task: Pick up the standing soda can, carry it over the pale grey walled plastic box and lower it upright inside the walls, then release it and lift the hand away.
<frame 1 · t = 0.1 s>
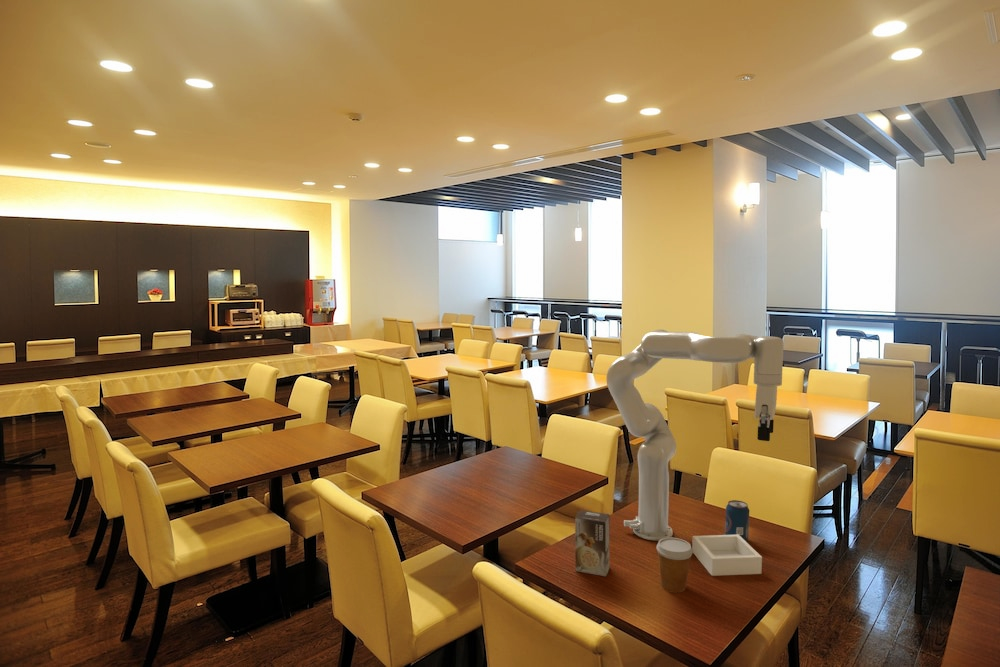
hand: (765, 436, 173), 37 cm above the table, tool pointing down, fingers open, 9 cm apart
coffee box: (592, 569, 170), on the table
disposable coffee cup: (673, 587, 160), on the table
walled box: (725, 562, 173), on the table
soda can: (736, 540, 188), on the table
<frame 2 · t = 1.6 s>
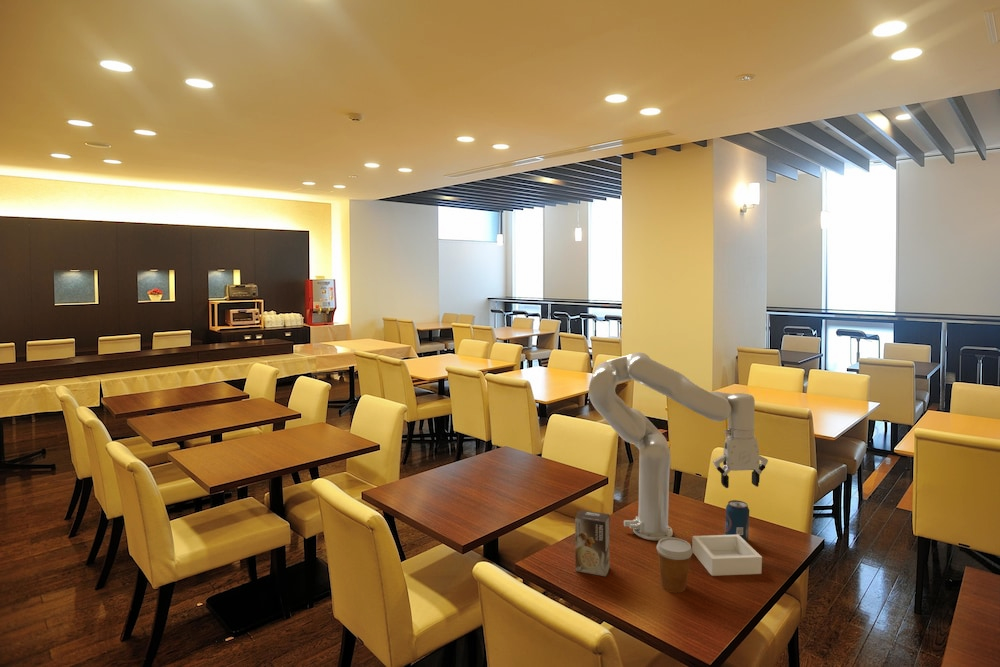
hand: (740, 485, 186), 18 cm above the table, tool pointing down, fingers open, 9 cm apart
nothing on the table moved.
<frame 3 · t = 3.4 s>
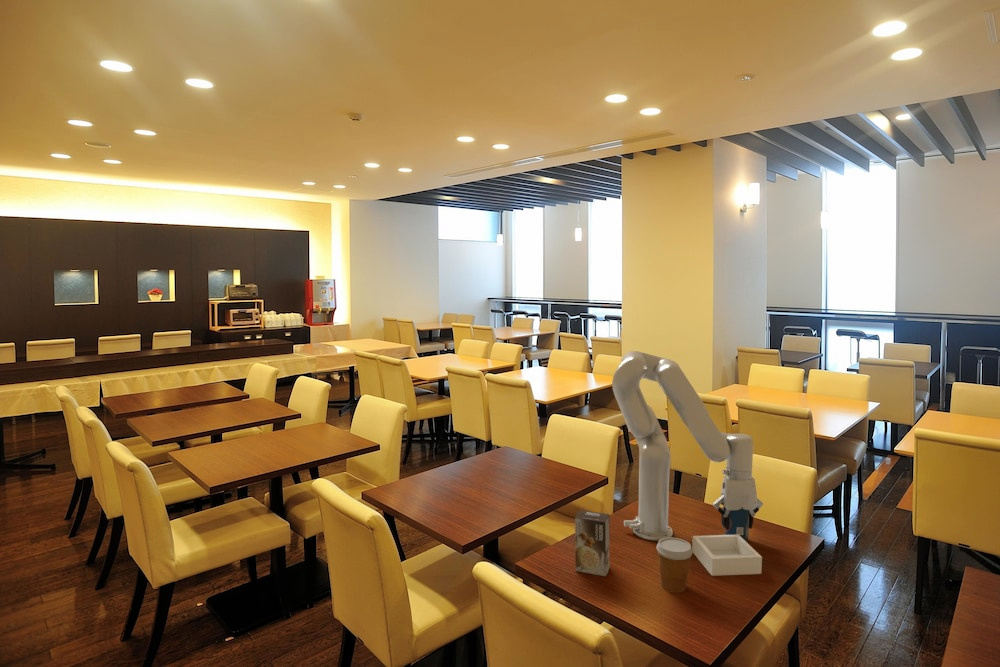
hand: (737, 526, 187), 4 cm above the table, tool pointing down, fingers closed on soda can, 6 cm apart
soda can: (736, 540, 188), on the table, touching gripper
everything else where it was.
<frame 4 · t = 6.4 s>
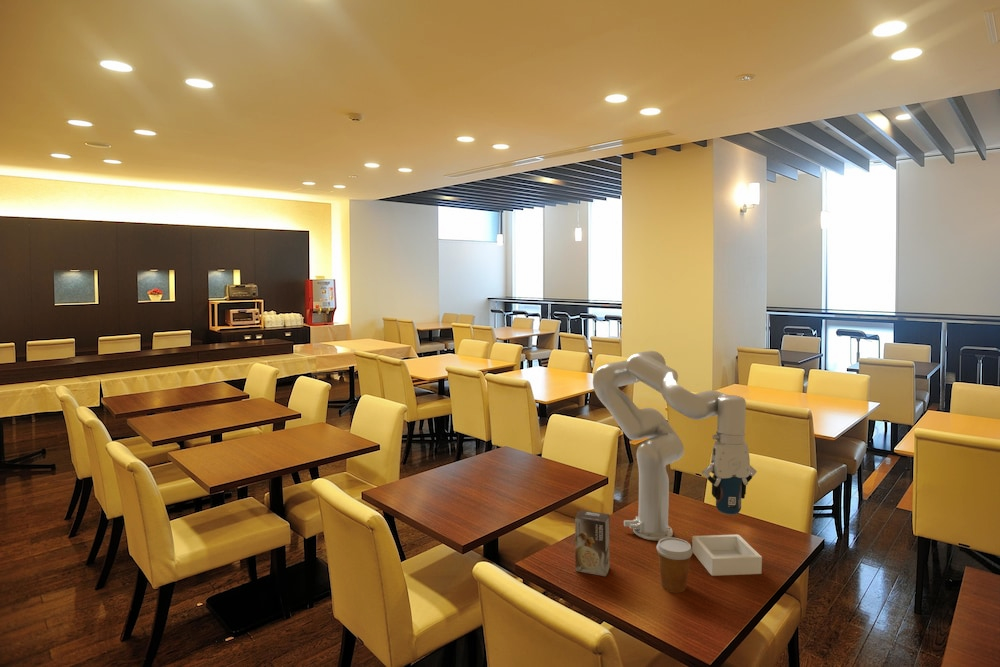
hand: (728, 496, 172), 20 cm above the table, tool pointing down, fingers closed on soda can, 6 cm apart
soda can: (728, 511, 172), point 15 cm above the table, touching gripper
everything else where it was.
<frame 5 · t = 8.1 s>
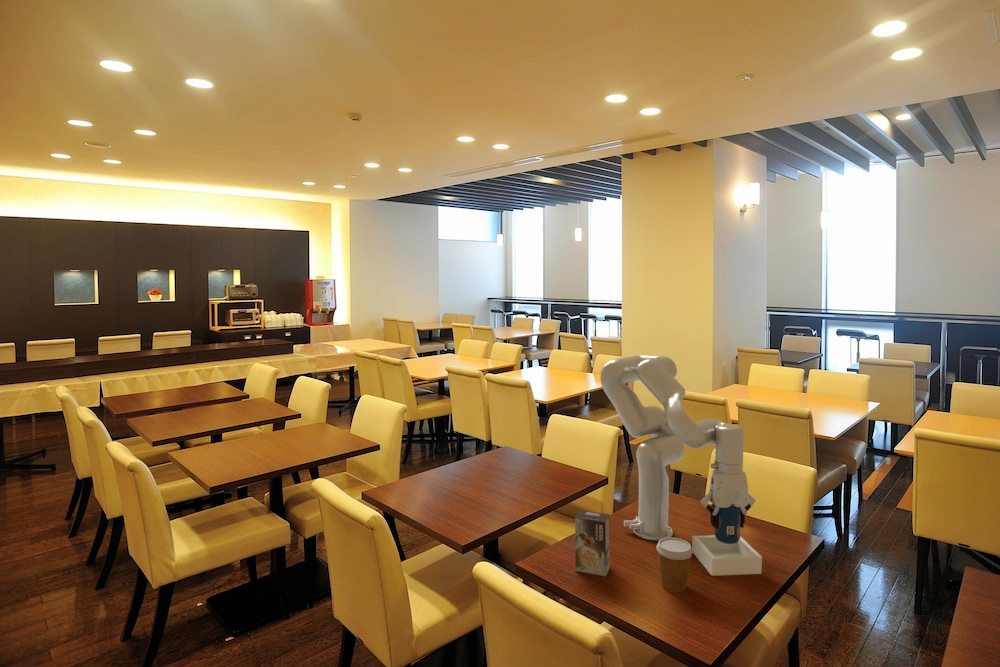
hand: (727, 525, 172), 11 cm above the table, tool pointing down, fingers closed on soda can, 6 cm apart
soda can: (727, 540, 172), point 7 cm above the table, touching gripper
everything else where it was.
when the fingers open (7 cm above the table, at t = 9.5 s): soda can drops 1 cm, resting on walled box.
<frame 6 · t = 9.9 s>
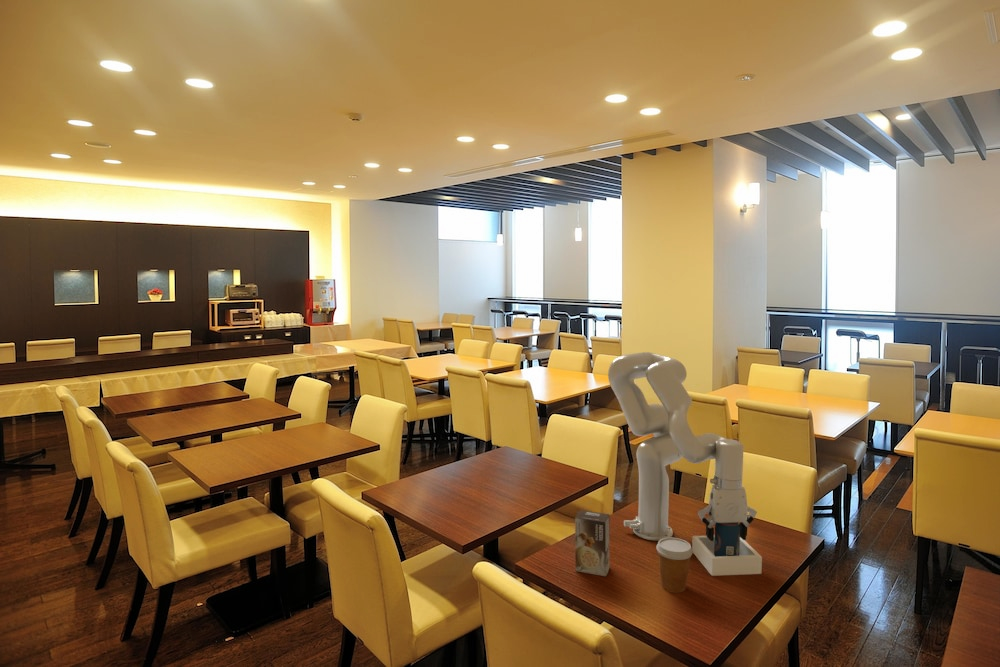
hand: (726, 538, 172), 7 cm above the table, tool pointing down, fingers open, 9 cm apart
soda can: (726, 560, 173), point 1 cm above the table, touching walled box
everything else where it was.
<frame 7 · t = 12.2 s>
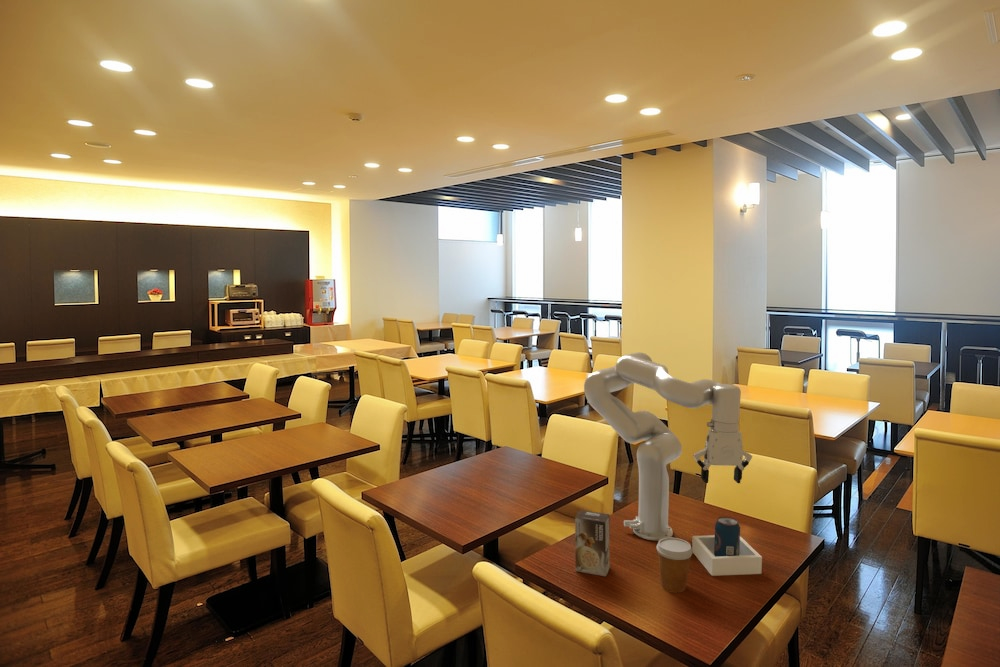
hand: (720, 481, 176), 23 cm above the table, tool pointing down, fingers open, 9 cm apart
nothing on the table moved.
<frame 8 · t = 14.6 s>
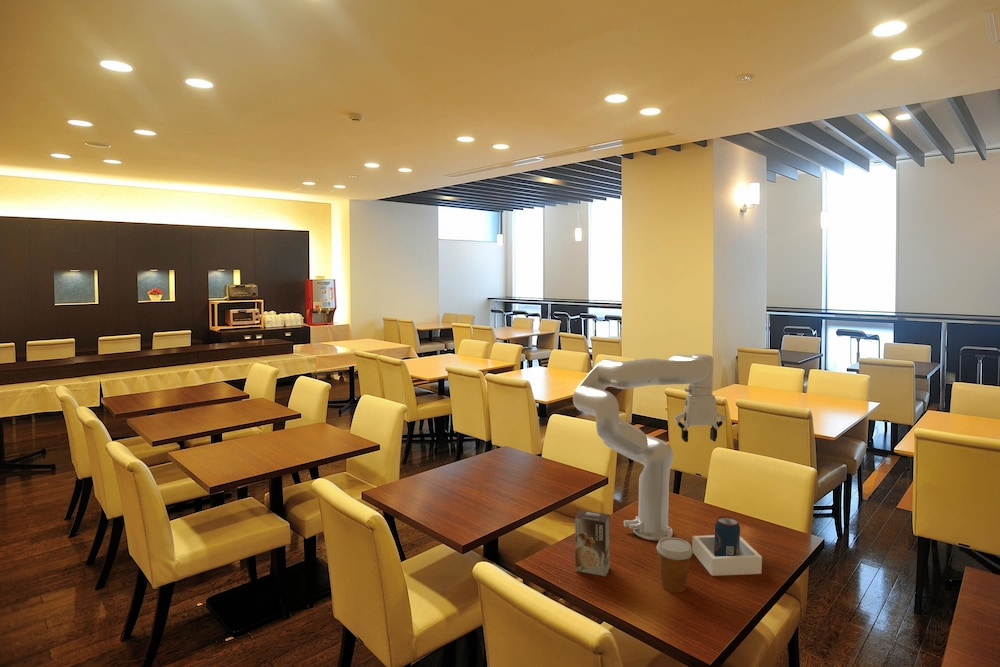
hand: (699, 440, 199), 28 cm above the table, tool pointing down, fingers open, 9 cm apart
nothing on the table moved.
at the end: soda can 0.3 cm off-centre on the walled box, point 0.6 cm above the walled box's base; soda can tilted 0°; the gripper is holding nothing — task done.
